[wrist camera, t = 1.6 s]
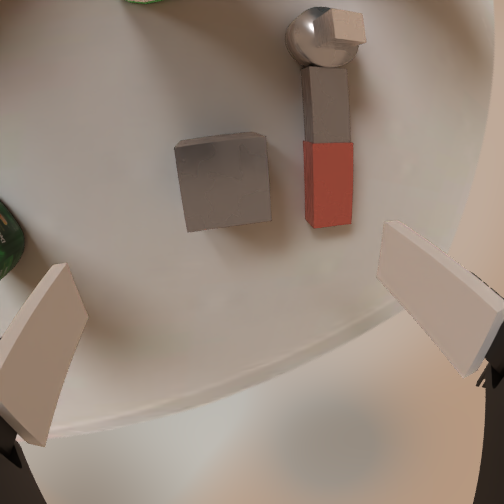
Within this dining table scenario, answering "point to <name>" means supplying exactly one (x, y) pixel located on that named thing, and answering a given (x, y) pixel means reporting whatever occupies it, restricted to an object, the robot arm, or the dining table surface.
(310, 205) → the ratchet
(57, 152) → the dining table surface
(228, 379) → the dining table surface
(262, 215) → the grey wooden cube
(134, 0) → the cup
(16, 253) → the coffee jar
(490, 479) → the robot arm
